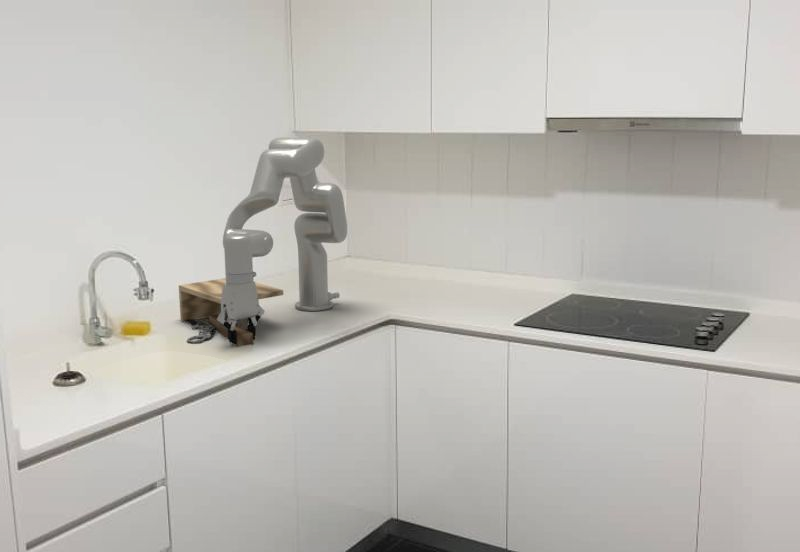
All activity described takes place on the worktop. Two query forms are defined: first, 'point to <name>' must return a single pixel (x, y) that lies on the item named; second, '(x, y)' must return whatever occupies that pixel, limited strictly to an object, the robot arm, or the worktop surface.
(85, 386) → the worktop surface
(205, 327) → the grey crescent piece
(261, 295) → the riser
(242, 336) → the batten
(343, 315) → the worktop surface
